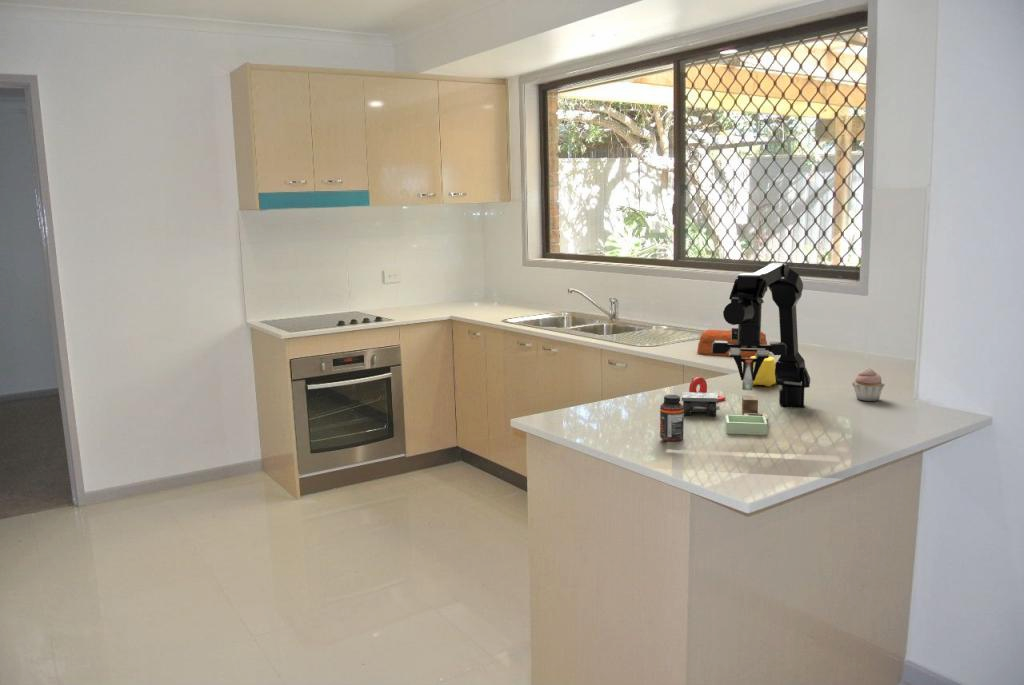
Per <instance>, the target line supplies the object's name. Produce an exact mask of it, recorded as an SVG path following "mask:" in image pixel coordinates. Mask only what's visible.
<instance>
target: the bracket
mask: <svg viewBox="0 0 1024 685" xmlns="http://www.w3.org/2000/svg"><path fill="white" fill-rule="evenodd" d="M698 386H699V390H698V391H697V388H698ZM688 392H694V393H708V383H707V381H706V379H705V378H704V377H699V376H697V377H695V378H692V380H691V381H690V384H689V387H688ZM722 400H724V401H726V396H723V395H720V394H718V401H720V402H723V401H722Z"/></svg>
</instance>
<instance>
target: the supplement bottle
mask: <svg viewBox="0 0 1024 685" xmlns="http://www.w3.org/2000/svg"><path fill="white" fill-rule="evenodd" d="M659 409H660V410H659V414H660V418H659V421H660V422H659V423H660V424H659V429H660V431H659V436H660V439H662V440H663V441H666V442H679V441H682V440H684V424H685V423H684V422H685V421H684V420H685V419H684V416H685V415H684V407H683V403H681V396H680V395H677V394H666V395H664V396H663V403H661V404H660V408H659Z"/></svg>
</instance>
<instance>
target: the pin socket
mask: <svg viewBox="0 0 1024 685" xmlns="http://www.w3.org/2000/svg"><path fill="white" fill-rule="evenodd" d="M744 415H746V416H765V418H766V421H767V427H769V417H768V415H767V413H744Z"/></svg>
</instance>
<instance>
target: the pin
mask: <svg viewBox="0 0 1024 685" xmlns="http://www.w3.org/2000/svg"><path fill="white" fill-rule="evenodd" d="M741 359H742V370H743V380H742V384H741V385H742V386H741V387H742V389H741V390H743V391H753V389H754V388H753V363H754V362H755V360H756V359H755V358H745V357H741Z"/></svg>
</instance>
